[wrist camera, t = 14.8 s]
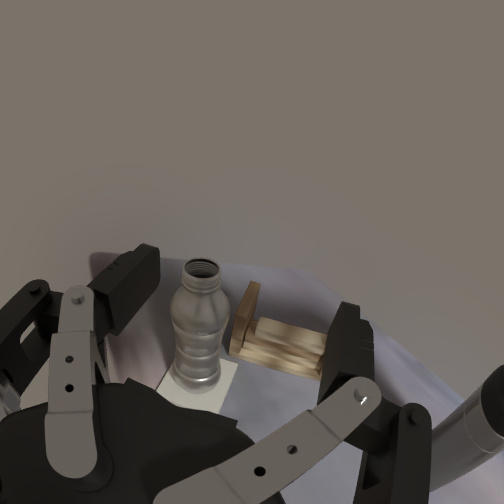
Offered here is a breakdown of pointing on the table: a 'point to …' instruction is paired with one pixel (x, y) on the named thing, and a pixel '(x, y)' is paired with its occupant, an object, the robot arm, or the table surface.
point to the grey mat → (199, 401)
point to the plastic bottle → (199, 325)
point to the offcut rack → (275, 341)
